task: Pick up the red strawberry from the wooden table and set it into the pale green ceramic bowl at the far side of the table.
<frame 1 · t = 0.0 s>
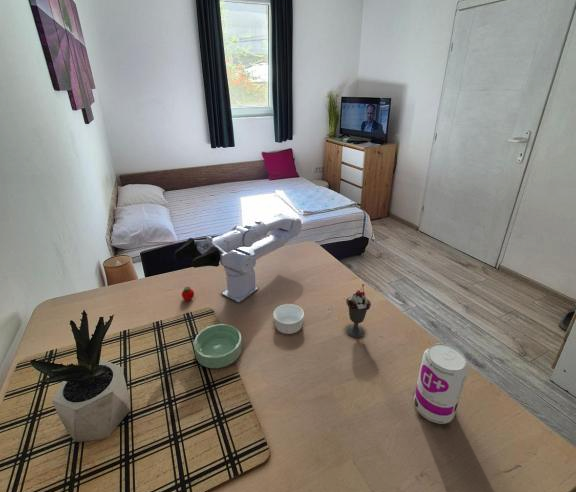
hand: (184, 259, 87), 22 cm above the table, tool horizontal, fingers open, 7 cm apart
sundae: (355, 332, 93), on the table
ramekin: (288, 325, 95), on the table
supplement can: (432, 408, 71), on the table
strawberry: (188, 298, 106), on the table
bowl: (219, 351, 86), on the table
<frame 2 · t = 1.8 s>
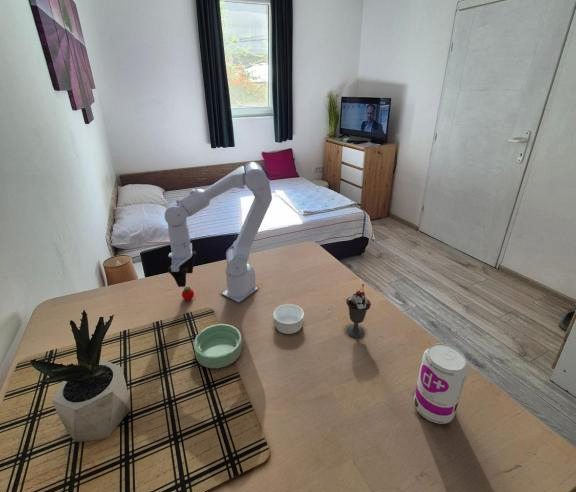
hand: (185, 279, 103), 8 cm above the table, tool pointing down, fingers open, 7 cm apart
nothing on the table moved.
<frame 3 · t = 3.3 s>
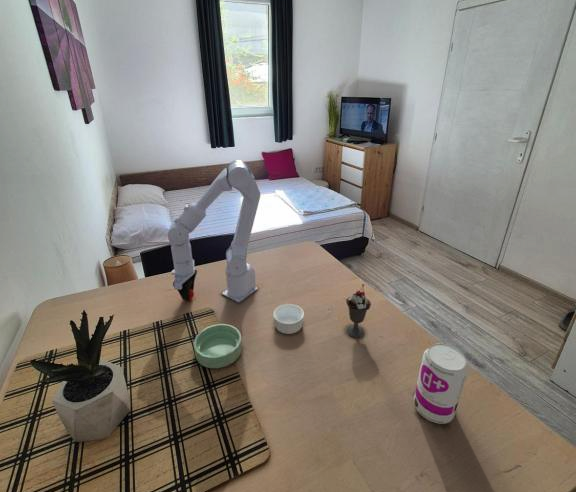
hand: (188, 295, 106), 1 cm above the table, tool pointing down, fingers closed on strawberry, 3 cm apart
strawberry: (188, 298, 106), on the table, touching gripper
everything else where it was.
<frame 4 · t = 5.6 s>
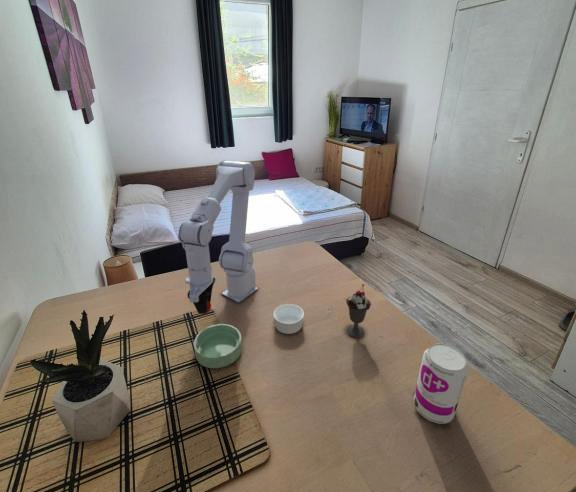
hand: (204, 307, 89), 8 cm above the table, tool pointing down, fingers closed on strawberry, 3 cm apart
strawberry: (204, 312, 89), point 7 cm above the table, touching gripper
everything else where it was.
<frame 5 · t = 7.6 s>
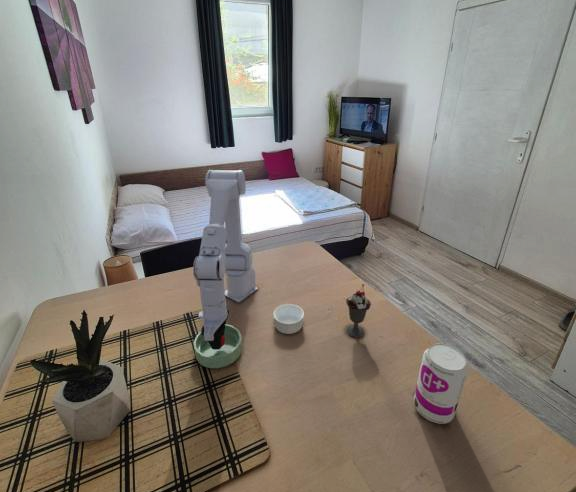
hand: (218, 342, 84), 3 cm above the table, tool pointing down, fingers closed on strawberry, 3 cm apart
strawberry: (218, 346, 85), point 2 cm above the table, touching gripper
everything else where it was.
when the fingers open (2 cm above the table, at t = 8.4 s): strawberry stays where it is and tips over, resting on bowl.
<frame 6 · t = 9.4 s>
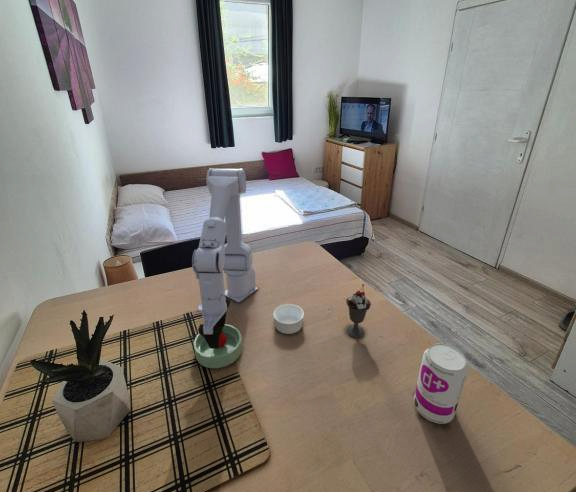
hand: (217, 336, 84), 5 cm above the table, tool pointing down, fingers open, 7 cm apart
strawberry: (218, 347, 85), point 1 cm above the table, tilted 50°, touching bowl
everything else where it was.
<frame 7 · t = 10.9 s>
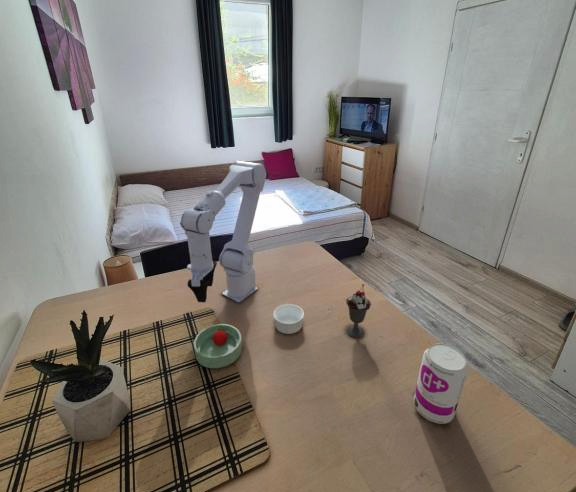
hand: (205, 293, 94), 9 cm above the table, tool pointing down, fingers open, 7 cm apart
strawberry: (218, 344, 85), point 2 cm above the table, tilted 71°, touching bowl
everything else where it was.
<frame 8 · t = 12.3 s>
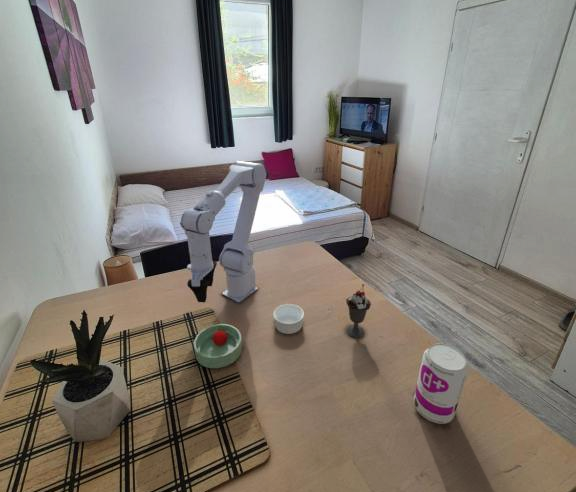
hand: (205, 293, 94), 9 cm above the table, tool pointing down, fingers open, 7 cm apart
nothing on the table moved.
at the end: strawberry inside the target area in the bowl (0.6 cm from its centre), point 1.8 cm above the bowl's base; the gripper is holding nothing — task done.
